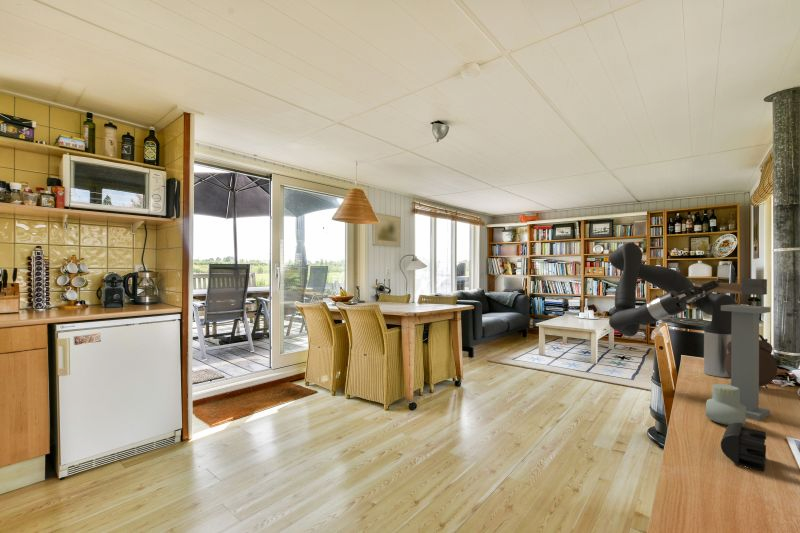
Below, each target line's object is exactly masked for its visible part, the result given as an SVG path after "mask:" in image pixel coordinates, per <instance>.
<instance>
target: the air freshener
mask: <svg viewBox="0 0 800 533" xmlns="http://www.w3.org/2000/svg"><path fill="white" fill-rule="evenodd" d="M705 416H706V417H707V418H708V419H710V420H712V421H714V422H715V423H718V424H720V425H721V424H722V425H724V426H725V425H726V426H729V425H730V424H733V423H743V426H745V425H746V424H747V418H746V407H745V406H744V405H742V404H740V389H739V388H737V387H734V386H731V384H730V385H729V384H723V383H715V384H713V385H712V398H708V399H707V400H706V403H705Z"/></svg>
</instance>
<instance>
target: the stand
mask: <svg viewBox="0 0 800 533" xmlns="http://www.w3.org/2000/svg"><path fill="white" fill-rule="evenodd" d="M771 310H772V309H771V306H760V305H758V306H757V305H745V304H744V305H743V304H737V305H733V304H732V305H722V306H721V311H732V325H731V377H730V386H734V387H737V388H739V389H740V404H742V405H744V406H745V407H746V419H749V420H753V421H754V420H755V421H759V422H760V421H762V420H763V419H765V418H767V417H768V416H770V415H771V409H767V408H763V407H760V406H759V405H760V404H759V403H760V400H759V398H760V397H759V396H760V395H759V394H760V393H759V392H760V387H759V340H760V337H759V334H760V314H767V313H771Z"/></svg>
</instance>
